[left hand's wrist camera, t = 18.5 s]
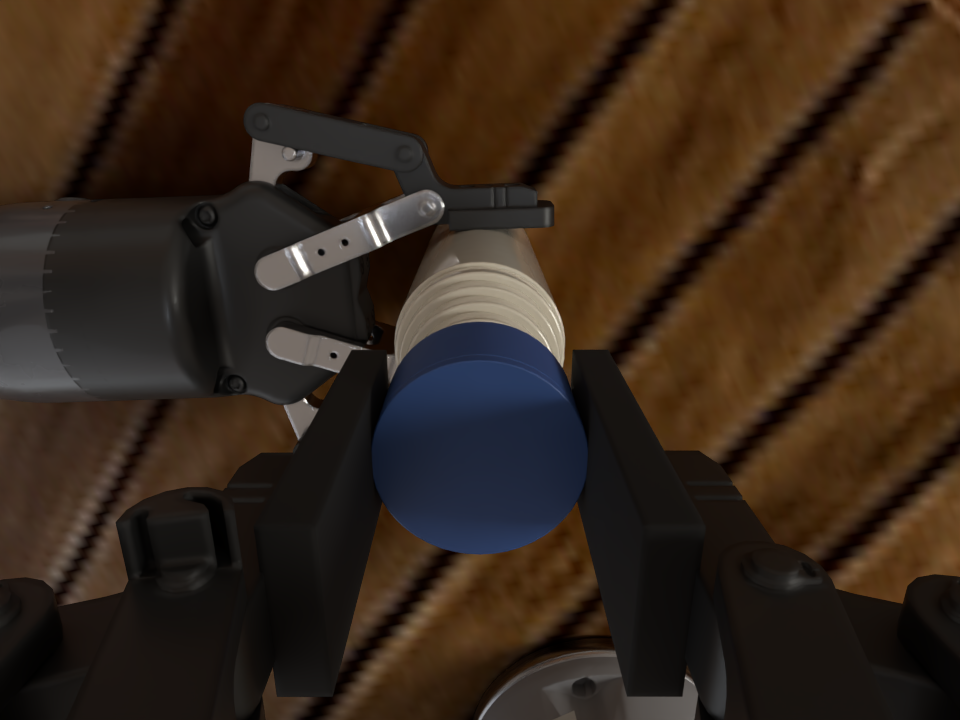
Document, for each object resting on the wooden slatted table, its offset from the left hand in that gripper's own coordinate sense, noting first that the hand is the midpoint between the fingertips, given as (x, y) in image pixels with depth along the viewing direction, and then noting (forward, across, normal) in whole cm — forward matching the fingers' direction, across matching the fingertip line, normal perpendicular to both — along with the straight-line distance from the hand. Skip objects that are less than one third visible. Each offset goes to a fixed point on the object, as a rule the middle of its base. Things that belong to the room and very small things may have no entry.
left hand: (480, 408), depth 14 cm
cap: (-2, 0, 0) cm, 2 cm away
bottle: (+17, 0, 0) cm, 17 cm away
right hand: (+11, -3, 0) cm, 11 cm away
